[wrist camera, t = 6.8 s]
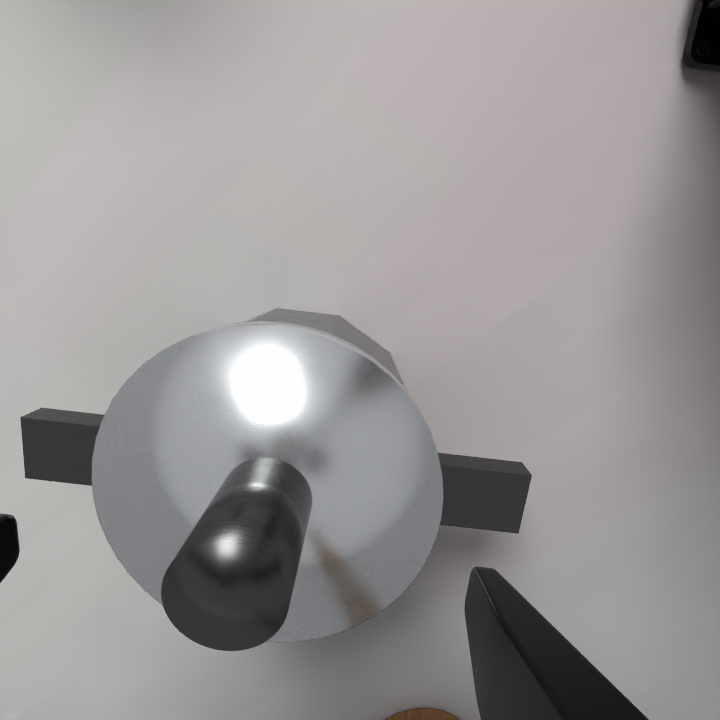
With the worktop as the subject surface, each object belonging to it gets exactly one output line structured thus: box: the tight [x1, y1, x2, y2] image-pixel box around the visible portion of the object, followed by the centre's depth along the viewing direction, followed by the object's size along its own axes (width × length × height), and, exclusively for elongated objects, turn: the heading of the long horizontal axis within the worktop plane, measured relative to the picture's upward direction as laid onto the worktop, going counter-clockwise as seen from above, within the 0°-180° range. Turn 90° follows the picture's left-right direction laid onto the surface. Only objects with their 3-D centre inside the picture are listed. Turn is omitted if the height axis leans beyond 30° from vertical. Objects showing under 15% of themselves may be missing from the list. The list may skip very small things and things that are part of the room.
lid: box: [92, 321, 443, 651], centre depth 12 cm, size 12×12×5 cm
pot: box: [21, 308, 532, 533], centre depth 18 cm, size 18×11×6 cm, turn 83°
